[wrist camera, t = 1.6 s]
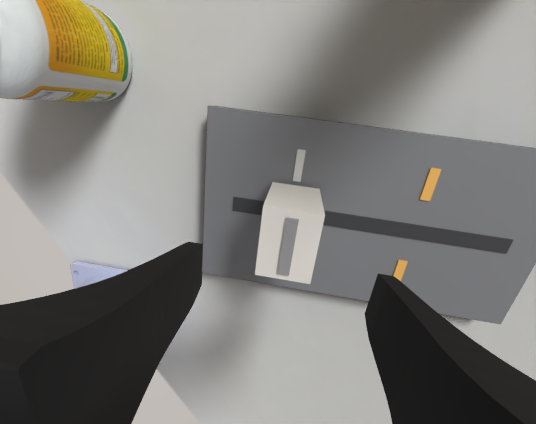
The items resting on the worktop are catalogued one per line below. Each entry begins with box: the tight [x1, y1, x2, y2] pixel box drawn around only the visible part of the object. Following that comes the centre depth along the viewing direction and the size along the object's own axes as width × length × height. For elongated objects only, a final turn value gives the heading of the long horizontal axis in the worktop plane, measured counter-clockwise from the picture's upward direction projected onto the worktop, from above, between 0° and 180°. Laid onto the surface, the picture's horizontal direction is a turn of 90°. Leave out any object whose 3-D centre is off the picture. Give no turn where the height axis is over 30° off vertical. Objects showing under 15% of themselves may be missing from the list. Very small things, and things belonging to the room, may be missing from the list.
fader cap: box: [255, 182, 325, 284], centre depth 16 cm, size 4×3×5 cm
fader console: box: [202, 106, 536, 324], centre depth 18 cm, size 12×22×2 cm, turn 83°
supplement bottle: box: [0, 0, 132, 102], centre depth 13 cm, size 5×5×10 cm
